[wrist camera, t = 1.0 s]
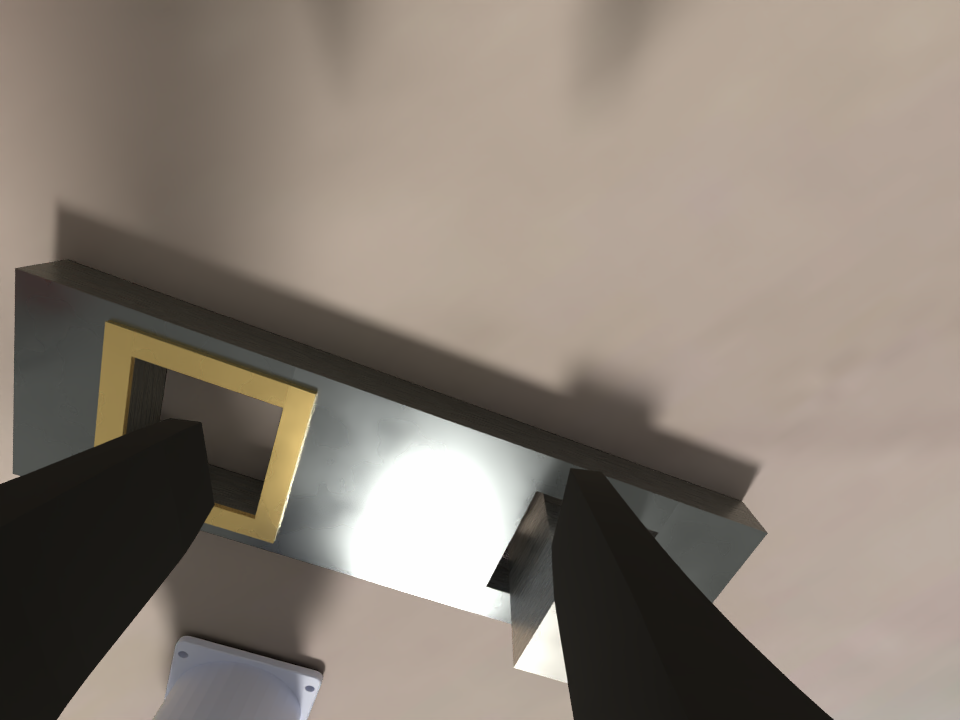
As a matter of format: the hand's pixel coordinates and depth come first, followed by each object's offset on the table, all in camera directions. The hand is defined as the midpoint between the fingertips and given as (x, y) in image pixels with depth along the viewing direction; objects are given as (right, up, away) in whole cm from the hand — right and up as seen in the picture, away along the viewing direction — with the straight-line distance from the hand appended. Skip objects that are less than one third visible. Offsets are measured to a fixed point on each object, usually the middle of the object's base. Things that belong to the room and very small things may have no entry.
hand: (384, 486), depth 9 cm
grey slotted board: (-2, -3, +12) cm, 12 cm away
